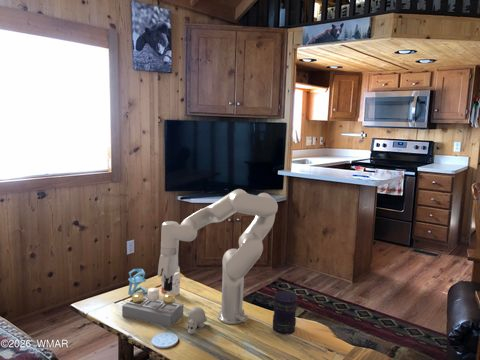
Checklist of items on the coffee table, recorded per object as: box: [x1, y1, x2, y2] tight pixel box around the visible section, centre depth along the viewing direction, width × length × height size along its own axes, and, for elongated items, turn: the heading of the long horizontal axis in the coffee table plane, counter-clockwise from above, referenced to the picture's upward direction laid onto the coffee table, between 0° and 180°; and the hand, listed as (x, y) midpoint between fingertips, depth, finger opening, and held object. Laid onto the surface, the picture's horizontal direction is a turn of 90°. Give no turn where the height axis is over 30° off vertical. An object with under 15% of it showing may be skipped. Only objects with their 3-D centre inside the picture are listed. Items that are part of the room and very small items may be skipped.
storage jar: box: [272, 290, 298, 336], centre depth 161 cm, size 10×10×15 cm
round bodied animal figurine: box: [186, 306, 208, 335], centre depth 158 cm, size 7×12×8 cm, turn 159°
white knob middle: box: [147, 287, 160, 301], centre depth 167 cm, size 5×5×4 cm
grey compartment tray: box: [121, 295, 184, 328], centre depth 168 cm, size 24×12×6 cm, turn 72°
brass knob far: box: [131, 292, 145, 304], centre depth 170 cm, size 5×5×3 cm
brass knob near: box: [162, 293, 176, 304], centre depth 165 cm, size 5×5×3 cm
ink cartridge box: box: [161, 265, 181, 297], centre depth 190 cm, size 9×5×15 cm, turn 58°
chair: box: [127, 268, 148, 297], centre depth 190 cm, size 8×8×12 cm
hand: (167, 290), depth 164 cm, fingers closed
